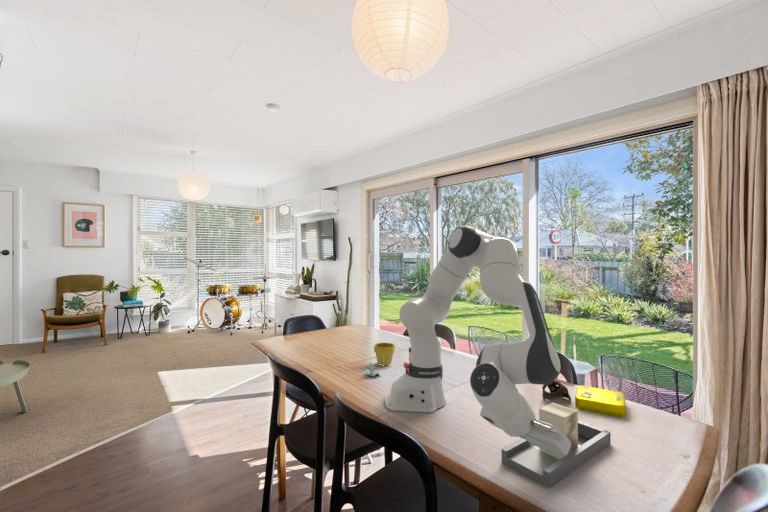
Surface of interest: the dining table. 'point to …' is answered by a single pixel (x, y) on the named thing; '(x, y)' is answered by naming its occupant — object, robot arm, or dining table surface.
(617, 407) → the element tile
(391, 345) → the plant pot
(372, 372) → the pacifier
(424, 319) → the robot arm
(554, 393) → the pottery mug
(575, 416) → the block
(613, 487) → the dining table surface
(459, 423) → the dining table surface
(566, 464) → the grey rimmed tray
